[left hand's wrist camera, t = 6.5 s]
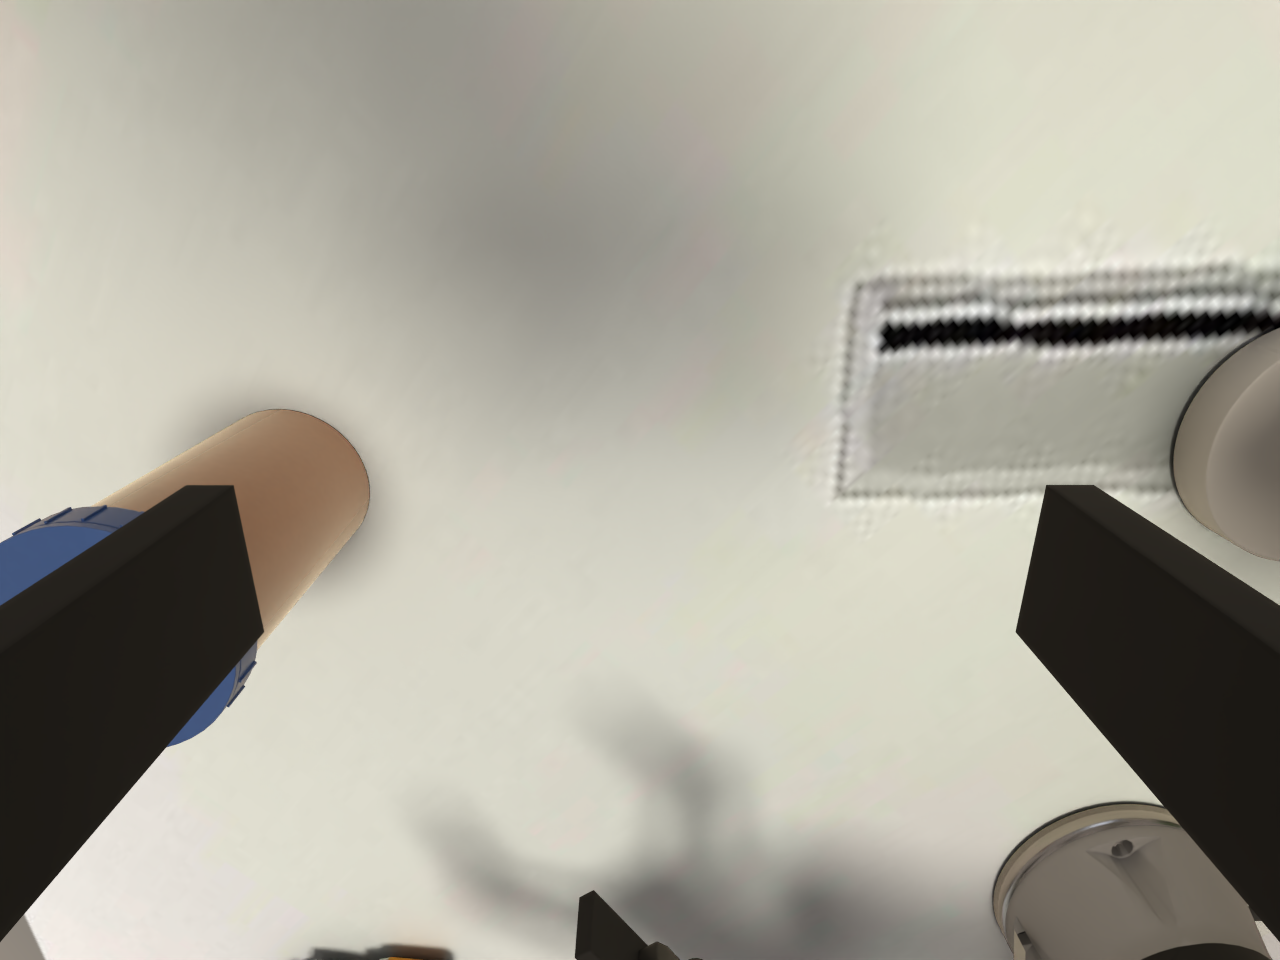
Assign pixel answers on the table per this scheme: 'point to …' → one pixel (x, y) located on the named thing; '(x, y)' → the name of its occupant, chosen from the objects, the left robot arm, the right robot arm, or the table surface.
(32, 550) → the lid
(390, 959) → the spray gun
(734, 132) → the table surface
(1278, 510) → the bust sculpture
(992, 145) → the table surface
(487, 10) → the table surface
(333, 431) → the jar
